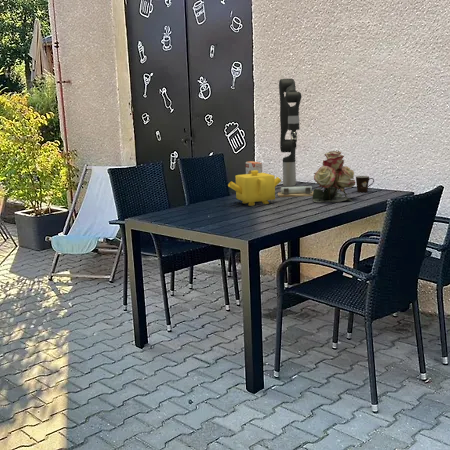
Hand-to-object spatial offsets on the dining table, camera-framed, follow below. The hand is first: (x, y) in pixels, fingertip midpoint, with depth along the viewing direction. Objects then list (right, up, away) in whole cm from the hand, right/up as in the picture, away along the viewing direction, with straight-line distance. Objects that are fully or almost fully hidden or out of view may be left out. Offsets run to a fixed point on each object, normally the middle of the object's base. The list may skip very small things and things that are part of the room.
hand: (294, 147), depth 389 cm
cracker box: (-26, -30, +12) cm, 41 cm away
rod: (+1, -29, -6) cm, 29 cm away
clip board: (+1, -32, -5) cm, 32 cm away
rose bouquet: (+22, -36, -26) cm, 49 cm away
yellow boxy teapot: (-27, -38, -26) cm, 53 cm away
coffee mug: (+46, -30, -4) cm, 55 cm away
